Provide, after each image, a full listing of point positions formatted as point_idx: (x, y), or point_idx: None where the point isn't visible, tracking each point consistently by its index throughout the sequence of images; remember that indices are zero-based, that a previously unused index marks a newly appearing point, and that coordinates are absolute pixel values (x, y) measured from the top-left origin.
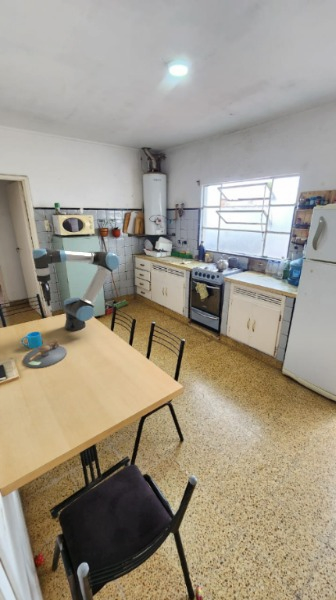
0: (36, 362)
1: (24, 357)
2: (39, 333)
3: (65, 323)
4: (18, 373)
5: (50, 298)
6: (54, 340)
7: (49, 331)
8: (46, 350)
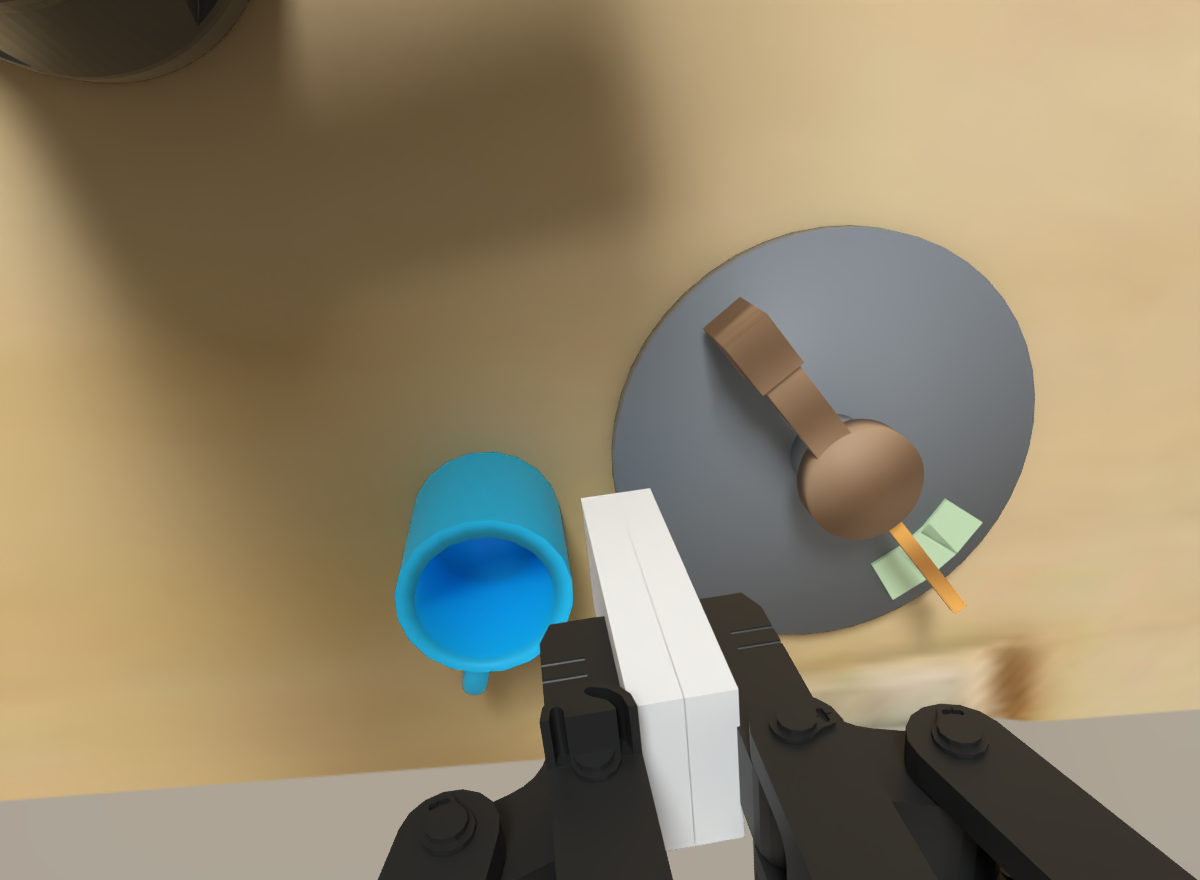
0: (927, 537)
1: None
2: (496, 530)
3: (45, 53)
4: (950, 654)
5: (1063, 787)
6: (743, 354)
7: (113, 331)
8: (919, 465)
